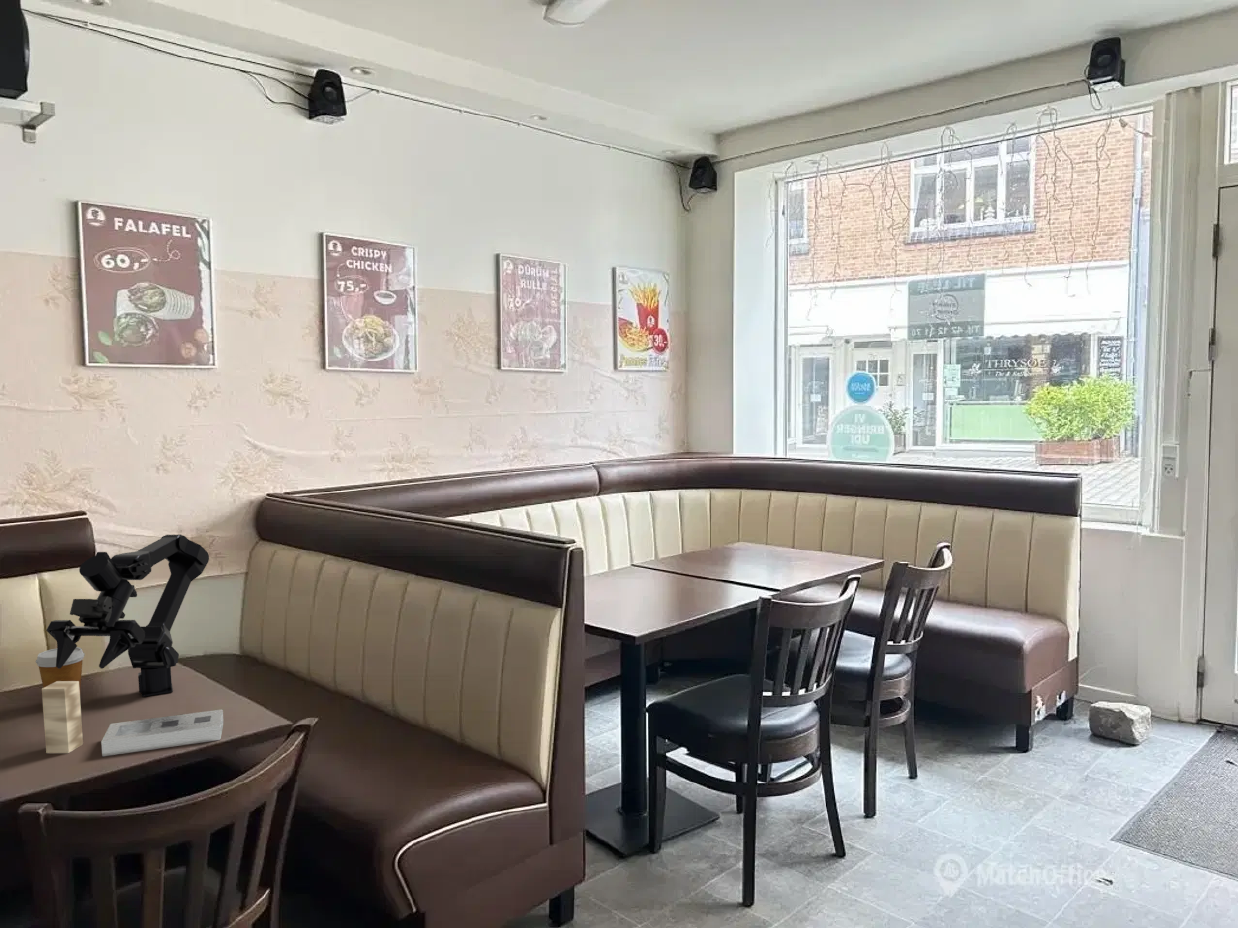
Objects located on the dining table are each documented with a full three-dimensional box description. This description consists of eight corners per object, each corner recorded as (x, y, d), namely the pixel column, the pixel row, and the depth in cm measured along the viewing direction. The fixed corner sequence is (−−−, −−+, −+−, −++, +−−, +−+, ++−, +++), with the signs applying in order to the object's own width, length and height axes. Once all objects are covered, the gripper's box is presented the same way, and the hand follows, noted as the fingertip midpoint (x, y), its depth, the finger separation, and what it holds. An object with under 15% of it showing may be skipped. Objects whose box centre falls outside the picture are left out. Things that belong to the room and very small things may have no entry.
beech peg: (61, 744, 179) (56, 681, 178) (83, 743, 179) (78, 681, 178) (46, 753, 175) (41, 688, 174) (68, 752, 174) (64, 688, 173)
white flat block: (223, 722, 189) (222, 708, 189) (220, 739, 180) (219, 724, 180) (111, 737, 182) (110, 723, 182) (102, 756, 172) (101, 740, 172)
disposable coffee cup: (93, 702, 203) (90, 651, 203) (45, 713, 197) (41, 660, 196) (80, 693, 210) (77, 643, 209) (33, 704, 203) (29, 652, 202)
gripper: (50, 582, 188) (14, 647, 178) (135, 582, 187) (103, 647, 177) (76, 611, 197) (43, 674, 186) (158, 611, 195) (129, 675, 185)
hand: (79, 667), depth 183 cm, fingers open, 9 cm apart
